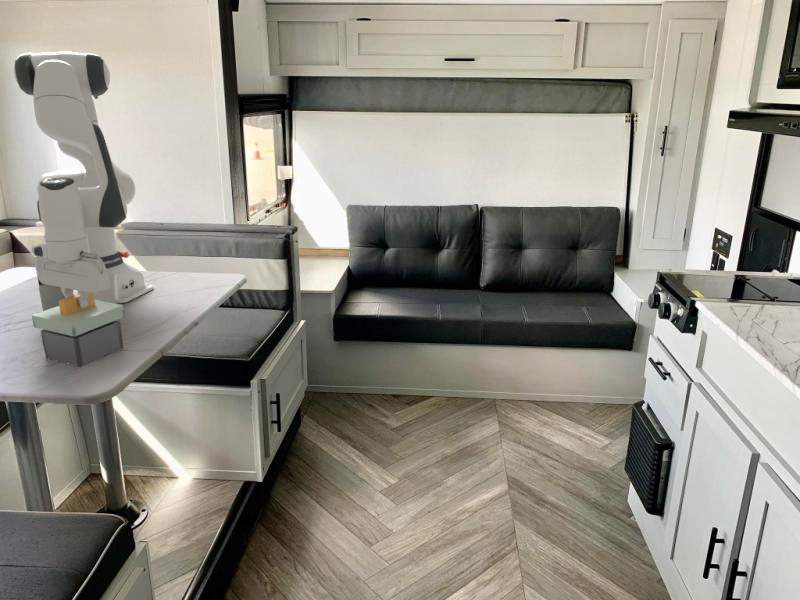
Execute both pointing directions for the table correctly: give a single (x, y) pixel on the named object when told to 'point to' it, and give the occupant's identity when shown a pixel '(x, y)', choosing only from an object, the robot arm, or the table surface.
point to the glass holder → (50, 295)
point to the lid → (77, 316)
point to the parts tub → (83, 344)
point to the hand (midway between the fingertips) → (77, 305)
